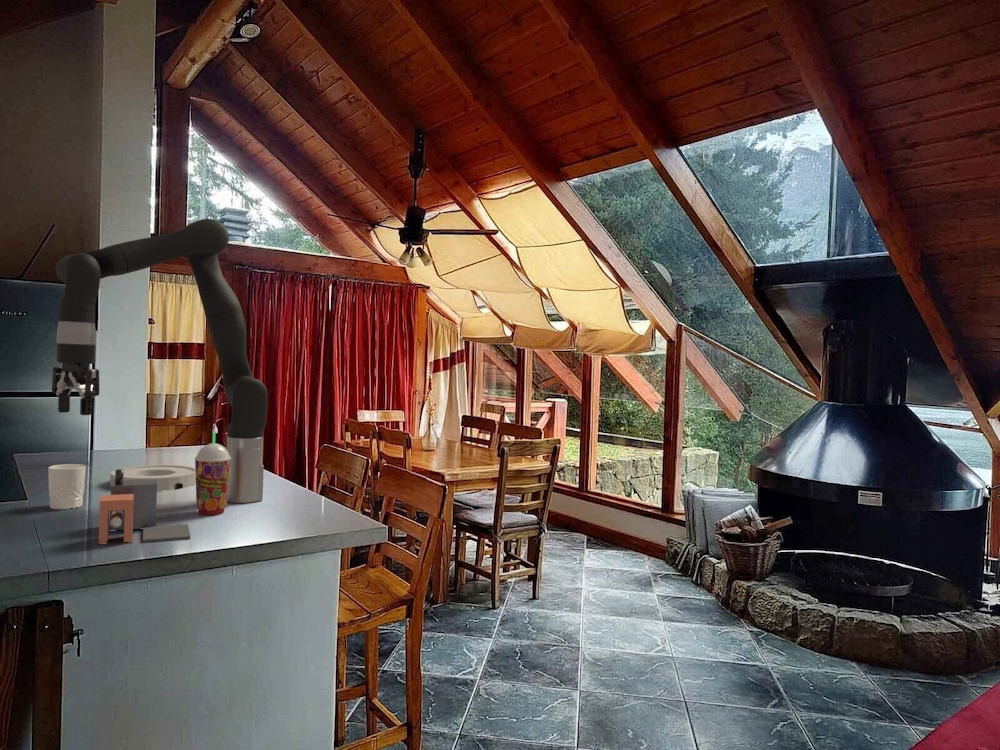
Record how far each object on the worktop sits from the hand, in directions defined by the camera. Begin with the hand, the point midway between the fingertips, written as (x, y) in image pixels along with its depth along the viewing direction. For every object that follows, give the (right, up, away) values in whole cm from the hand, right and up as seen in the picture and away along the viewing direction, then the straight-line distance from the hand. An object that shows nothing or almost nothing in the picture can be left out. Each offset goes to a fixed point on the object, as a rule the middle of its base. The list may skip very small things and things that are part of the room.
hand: (74, 413), depth 156 cm
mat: (+24, -26, -6) cm, 36 cm away
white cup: (-11, -24, +14) cm, 30 cm away
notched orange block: (+16, -26, -13) cm, 33 cm away
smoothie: (+25, -26, +14) cm, 39 cm away
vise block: (+17, -26, -7) cm, 31 cm away
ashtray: (-5, -24, +46) cm, 52 cm away
